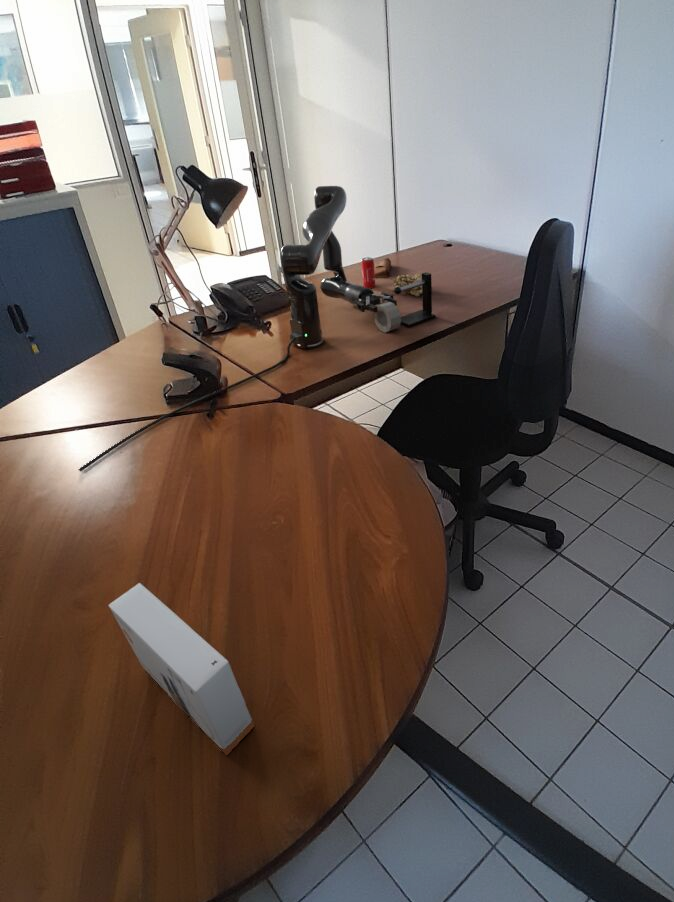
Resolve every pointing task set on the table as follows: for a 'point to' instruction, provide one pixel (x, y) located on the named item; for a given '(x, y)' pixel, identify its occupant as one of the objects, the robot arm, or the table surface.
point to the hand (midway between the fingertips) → (386, 306)
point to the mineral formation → (407, 281)
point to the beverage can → (368, 272)
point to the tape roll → (387, 317)
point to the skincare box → (183, 664)
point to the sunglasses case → (382, 268)
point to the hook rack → (423, 314)
